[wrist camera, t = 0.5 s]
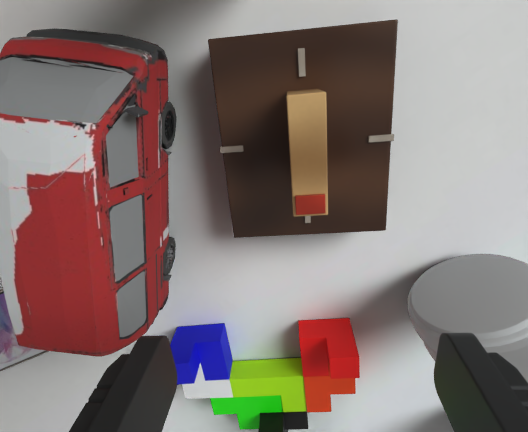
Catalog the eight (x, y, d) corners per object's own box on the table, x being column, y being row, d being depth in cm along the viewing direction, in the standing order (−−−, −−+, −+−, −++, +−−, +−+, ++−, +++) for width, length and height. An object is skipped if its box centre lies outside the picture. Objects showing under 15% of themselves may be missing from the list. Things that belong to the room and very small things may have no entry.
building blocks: (204, 425, 35) (193, 470, 31) (177, 325, 30) (160, 364, 26) (352, 422, 33) (361, 469, 29) (349, 316, 28) (359, 356, 24)
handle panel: (216, 44, 21) (205, 38, 18) (384, 26, 20) (401, 18, 17) (238, 220, 25) (232, 239, 23) (376, 213, 25) (388, 231, 22)
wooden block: (286, 91, 19) (286, 95, 15) (318, 88, 19) (327, 92, 15) (292, 192, 21) (293, 218, 17) (321, 190, 21) (328, 216, 17)
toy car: (201, 52, 21) (134, 35, 12) (175, 290, 28) (121, 393, 19) (59, 22, 21) (-119, -19, 12) (70, 268, 28) (-36, 362, 19)
